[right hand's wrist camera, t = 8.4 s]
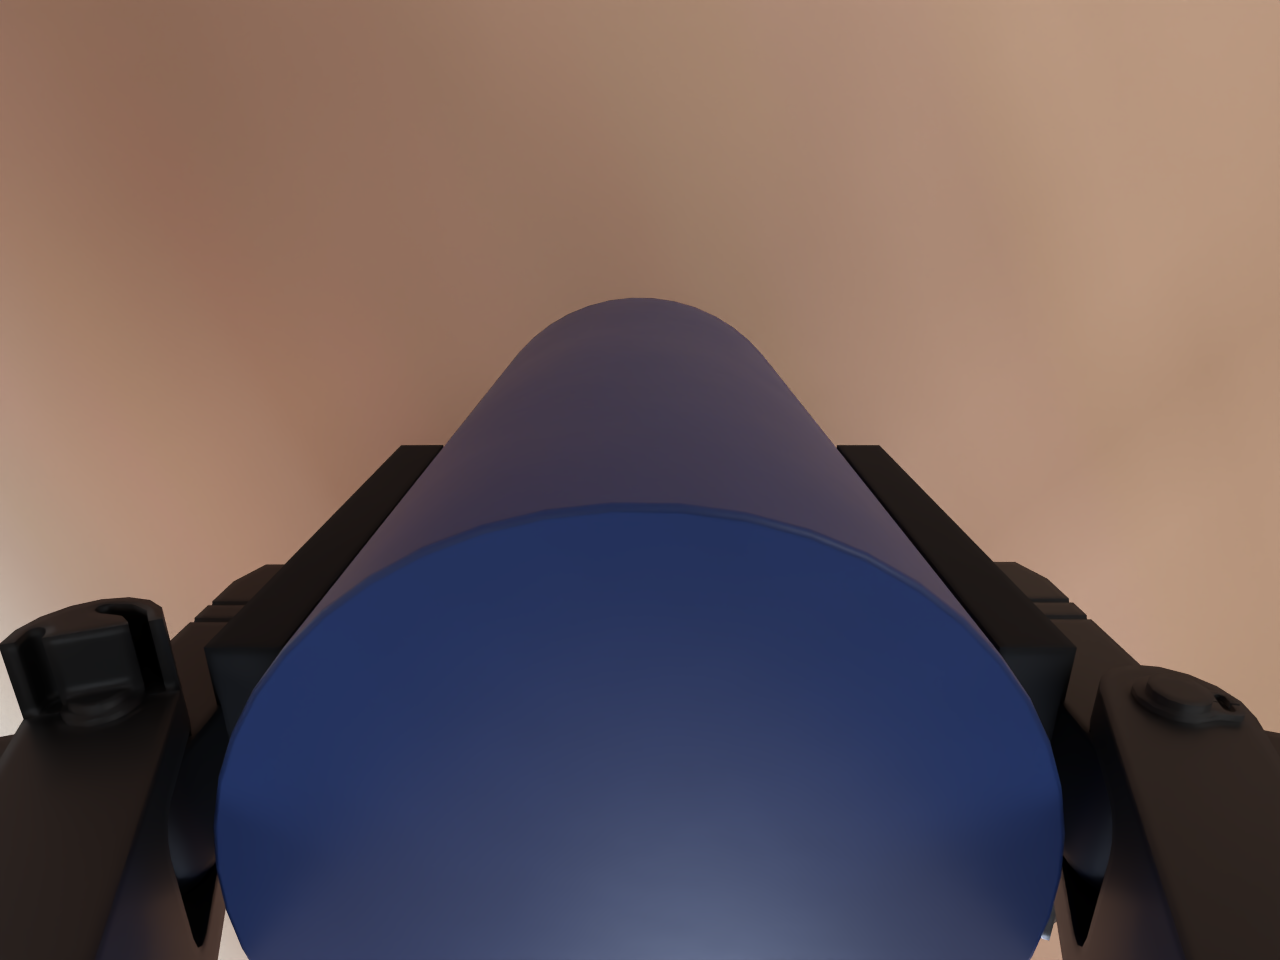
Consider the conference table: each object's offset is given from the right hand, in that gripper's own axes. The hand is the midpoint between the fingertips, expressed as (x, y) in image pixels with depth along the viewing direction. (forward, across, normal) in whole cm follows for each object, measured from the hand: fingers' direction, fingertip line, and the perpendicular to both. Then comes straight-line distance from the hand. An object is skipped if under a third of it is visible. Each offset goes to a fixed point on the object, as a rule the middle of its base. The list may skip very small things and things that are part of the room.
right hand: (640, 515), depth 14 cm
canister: (+4, 0, 0) cm, 4 cm away
